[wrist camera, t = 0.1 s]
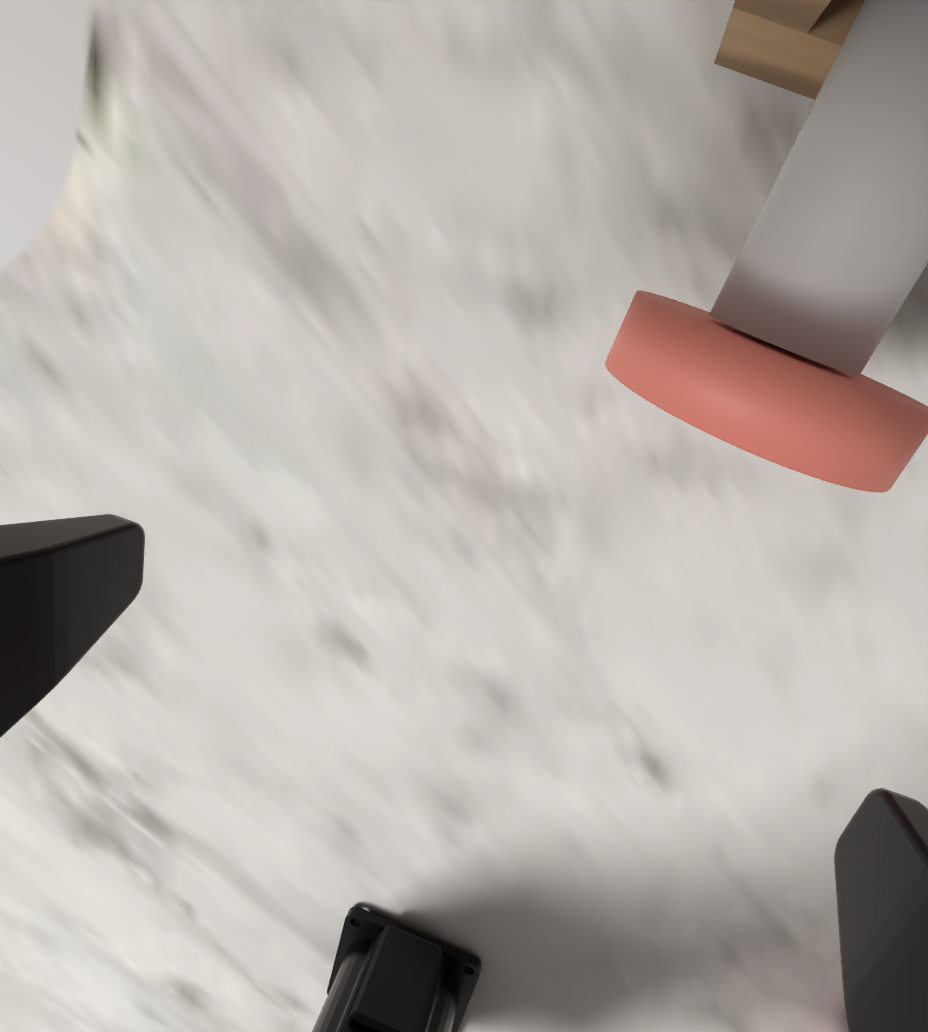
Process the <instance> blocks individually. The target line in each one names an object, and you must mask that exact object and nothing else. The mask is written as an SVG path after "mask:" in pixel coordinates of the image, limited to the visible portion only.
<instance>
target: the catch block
mask: <svg viewBox="0 0 928 1032" xmlns="http://www.w3.org/2000/svg"><path fill="white" fill-rule="evenodd" d="M864 1H865V0H735V3H734V6H733V9H732V12H731V15H730V18H729V21H728V24H727V27H726V30H725V33H724V36H723V39H722V42H721V45H720V48H719V51H718V54H717V57H716V59H715V62H714V63H715V64H718V65H721V66H723V67H726V68H729V69H732V70H735V71H737V72H740V73H743V74H746V75H748V76H751V77H754V78H757V79H760V80H762V81H765V82H768V83H771V84H773V85H776V86H779V87H782V88H784V89H787V90H790V91H793V92H796V93H798V94H801V95H804V96H807V97H809V98H812V99H815V100H816V98H817V96H818V94H819V92H820V90H821V88H822V86H823V84H824V82H825V80H826V78H827V75H828V73H829V71H830V69H831V67H832V65H833V63H834V61H835V59H836V57H837V55H838V53H839V51H840V49H841V47H842V45H843V43H844V41H845V39H846V37H847V35H848V33H849V31H850V29H851V27H852V25H853V23H854V21H855V19H856V17H857V15H858V13H859V11H860V9H861V7H862V5H863V3H864Z"/></svg>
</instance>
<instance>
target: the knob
mask: <svg viewBox="0 0 928 1032" xmlns="http://www.w3.org/2000/svg"><path fill="white" fill-rule="evenodd" d="M927 264H928V0H865V1H864V3H863V5H862V7H861V9H860V11H859V13H858V15H857V17H856V19H855V21H854V23H853V25H852V27H851V29H850V31H849V33H848V35H847V37H846V39H845V41H844V43H843V45H842V47H841V49H840V51H839V53H838V55H837V57H836V59H835V61H834V63H833V65H832V67H831V69H830V71H829V73H828V75H827V78H826V80H825V82H824V84H823V86H822V88H821V90H820V92H819V94H818V96H817V98H816V100H815V102H814V104H813V106H812V108H811V110H810V112H809V114H808V116H807V118H806V120H805V122H804V124H803V126H802V128H801V130H800V132H799V134H798V136H797V138H796V140H795V142H794V144H793V146H792V148H791V150H790V152H789V154H788V156H787V158H786V160H785V163H784V165H783V167H782V169H781V171H780V173H779V175H778V177H777V179H776V181H775V183H774V185H773V187H772V189H771V191H770V193H769V195H768V197H767V199H766V201H765V203H764V205H763V207H762V209H761V211H760V213H759V215H758V217H757V219H756V221H755V223H754V225H753V227H752V229H751V231H750V233H749V235H748V237H747V239H746V241H745V243H744V246H743V248H742V250H741V252H740V254H739V256H738V258H737V260H736V262H735V264H734V266H733V268H732V270H731V272H730V274H729V276H728V278H727V280H726V282H725V284H724V286H723V288H722V290H721V292H720V294H719V296H718V298H717V300H716V302H715V304H714V306H713V308H712V310H711V312H707V311H704V310H702V309H699V308H696V307H693V306H690V305H687V304H685V303H682V302H679V301H676V300H673V299H670V298H666V297H663V296H660V295H657V294H653V293H649V292H645V291H636V294H635V296H634V298H633V300H632V303H631V305H630V307H629V309H628V312H627V314H626V316H625V318H624V321H623V323H622V325H621V328H620V330H619V332H618V334H617V337H616V339H615V341H614V343H613V346H612V348H611V350H610V352H609V355H608V357H607V359H606V361H605V366H606V367H607V369H608V371H609V372H610V373H611V374H612V375H613V376H614V377H615V378H616V379H618V380H619V381H620V382H621V383H622V384H624V385H625V386H626V387H628V388H629V389H630V390H632V391H633V392H635V393H636V394H638V395H639V396H641V397H643V398H644V399H646V400H647V401H649V402H651V403H652V404H654V405H656V406H657V407H659V408H661V409H663V410H664V411H666V412H668V413H670V414H672V415H673V416H675V417H677V418H679V419H681V420H683V421H685V422H686V423H688V424H690V425H692V426H694V427H696V428H698V429H700V430H702V431H704V432H706V433H708V434H710V435H712V436H714V437H717V438H719V439H721V440H723V441H725V442H727V443H730V444H732V445H734V446H736V447H738V448H741V449H743V450H745V451H748V452H750V453H752V454H755V455H757V456H759V457H762V458H764V459H766V460H769V461H772V462H774V463H777V464H779V465H782V466H784V467H787V468H789V469H792V470H795V471H798V472H800V473H803V474H806V475H809V476H812V477H815V478H818V479H821V480H824V481H827V482H831V483H834V484H837V485H841V486H845V487H849V488H853V489H857V490H863V491H869V492H886V491H888V490H889V489H890V488H891V487H892V485H893V484H894V483H895V481H896V480H897V478H898V477H899V475H900V474H901V472H902V471H903V469H904V468H905V466H906V465H907V463H908V462H909V461H910V459H911V458H912V456H913V455H914V453H915V452H916V450H917V449H918V447H919V446H920V444H921V443H922V441H923V440H924V439H925V437H926V436H927V434H928V407H927V406H926V405H924V404H922V403H920V402H918V401H916V400H914V399H913V398H911V397H909V396H907V395H905V394H902V393H900V392H898V391H896V390H894V389H892V388H890V387H888V386H886V385H884V384H881V383H879V382H877V381H875V380H873V379H871V378H868V377H866V376H864V375H862V374H860V373H861V372H862V370H863V368H864V367H865V365H866V363H867V362H868V360H869V359H870V357H871V355H872V354H873V352H874V350H875V349H876V347H877V345H878V344H879V342H880V340H881V339H882V337H883V336H884V334H885V332H886V331H887V329H888V327H889V326H890V324H891V322H892V321H893V319H894V318H895V316H896V314H897V313H898V311H899V309H900V308H901V306H902V304H903V303H904V301H905V300H906V298H907V296H908V295H909V293H910V291H911V290H912V288H913V286H914V285H915V283H916V282H917V280H918V278H919V277H920V275H921V273H922V272H923V270H924V268H925V267H926V265H927Z"/></svg>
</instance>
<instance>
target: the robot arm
mask: <svg viewBox="0 0 928 1032" xmlns="http://www.w3.org/2000/svg"><path fill="white" fill-rule="evenodd" d="M144 546H145V533H144V530H143V528H142V527H141V526H140V525H139V524H138V523H136V522H133V521H130V520H127V519H125V518H122V517H119V516H116V515H111V514H106V515H96V516H86V517H76V518H67V519H57V520H47V521H37V522H28V523H18V524H8V525H0V737H2V736H3V735H4V734H5V733H6V732H7V731H8V730H9V729H10V728H11V727H13V726H14V725H15V724H16V723H17V722H18V721H19V720H20V719H21V718H22V717H23V716H25V715H26V714H27V713H28V712H29V711H30V710H31V709H32V708H33V707H34V706H36V705H37V704H38V703H39V702H40V701H41V700H42V699H43V698H44V697H45V696H46V695H47V694H48V693H49V692H50V691H51V690H52V689H53V688H54V687H55V686H56V685H57V684H58V683H59V682H60V681H61V680H62V679H63V678H64V677H65V676H66V675H67V674H68V673H69V672H70V671H71V670H72V668H73V667H74V666H75V665H76V664H77V663H78V662H79V661H80V660H81V658H82V657H83V656H84V655H85V654H86V653H87V652H88V651H89V650H90V648H91V647H92V646H93V645H94V644H95V643H96V642H97V641H98V640H99V638H100V637H101V636H102V635H103V634H104V633H105V632H106V631H107V629H108V628H109V627H110V626H111V625H112V624H113V623H114V622H115V621H116V619H117V618H118V617H119V616H120V615H121V614H122V613H123V612H124V611H125V609H126V608H127V607H128V606H129V605H130V604H131V603H132V602H133V600H134V599H135V598H136V596H137V595H138V593H139V591H140V589H141V586H142V581H143V567H144ZM834 864H835V879H836V893H837V908H838V923H839V937H840V952H841V967H842V980H843V990H844V1000H845V1007H846V1014H847V1020H848V1027H849V1032H928V809H927V808H926V807H925V806H924V805H922V804H921V803H920V802H918V801H916V800H915V799H912V798H909V797H907V796H904V795H901V794H898V793H895V792H892V791H889V790H887V789H883V788H879V789H875V790H873V791H871V792H870V793H869V794H868V795H867V796H866V798H865V799H864V801H863V802H862V804H861V805H860V807H859V808H858V810H857V811H856V813H855V814H854V816H853V817H852V819H851V820H850V822H849V824H848V825H847V827H846V828H845V830H844V831H843V833H842V834H841V836H840V838H839V840H838V842H837V845H836V849H835V856H834ZM481 965H482V964H481V961H480V960H479V959H478V958H477V957H475V956H474V955H471V954H469V953H466V952H464V951H462V950H459V949H457V948H455V947H452V946H450V945H447V944H445V943H443V942H440V941H438V940H436V939H433V938H431V937H428V936H426V935H424V934H421V933H419V932H416V931H414V930H412V929H409V928H407V927H405V926H402V925H400V924H397V923H395V922H393V921H390V920H388V919H385V918H383V917H381V916H378V915H376V914H374V913H371V912H369V911H366V910H364V909H362V908H359V907H352V908H350V910H349V912H348V914H347V916H346V918H345V922H344V926H343V930H342V934H341V938H340V942H339V946H338V950H337V954H336V958H335V962H334V966H333V970H332V974H331V978H330V982H329V986H328V990H327V994H328V996H327V999H326V1001H325V1003H324V1006H323V1008H322V1010H321V1013H320V1015H319V1017H318V1020H317V1022H316V1024H315V1027H314V1029H313V1031H312V1032H457V1031H458V1028H459V1026H460V1023H461V1021H462V1018H463V1016H464V1013H465V1010H466V1008H467V1005H468V1003H469V1000H470V998H471V995H472V993H473V990H474V988H475V985H476V983H477V980H478V977H479V975H480V971H481Z"/></svg>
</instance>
